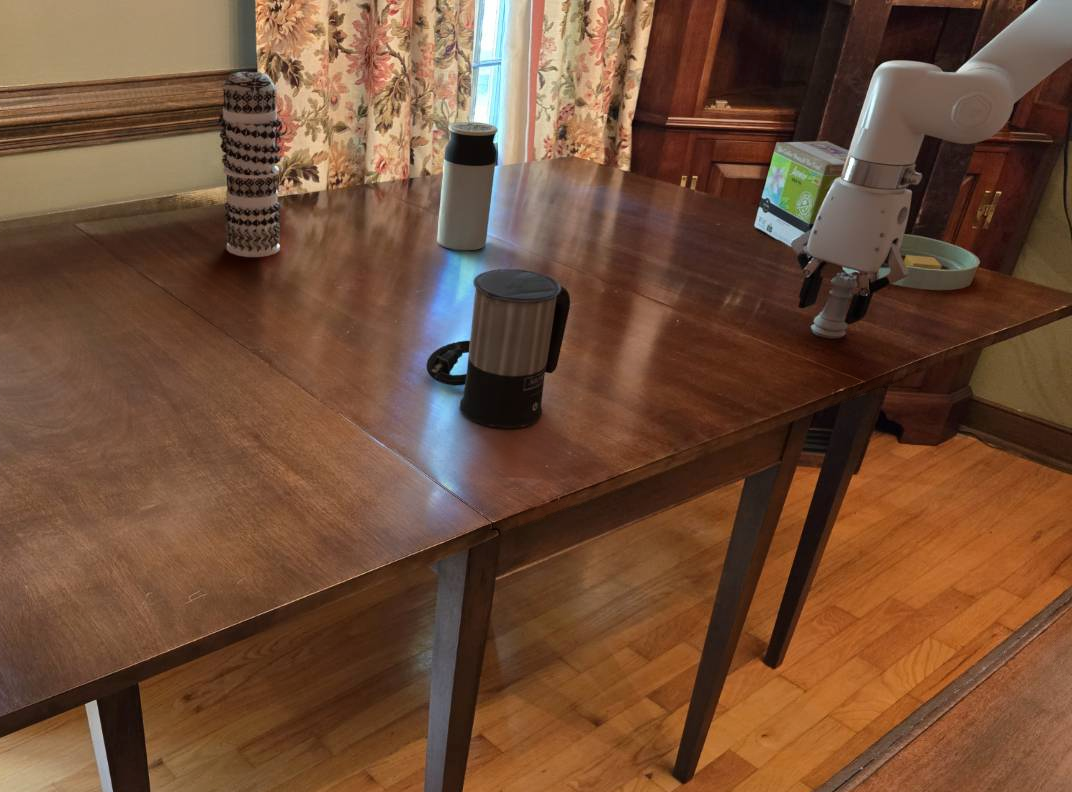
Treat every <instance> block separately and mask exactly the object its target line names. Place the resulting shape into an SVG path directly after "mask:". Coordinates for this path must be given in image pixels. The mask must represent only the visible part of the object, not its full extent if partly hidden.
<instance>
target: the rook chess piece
mask: <svg viewBox="0 0 1072 792" xmlns="http://www.w3.org/2000/svg"><path fill="white" fill-rule="evenodd" d="M846 275H847V276H846ZM830 282H831V285H832V288H831V290H829V293H828V294H829V296H828V299H827V301H826V304H825V306H824V308H823V309H822V310H821V312H819V314H818V315H817V316H815V317H814V319H813V323H814V324H812V325H811V326H810V329H811V331H812V333H813V334H814V335H816V336H818V337H821V338H825V339H833V340H837V339H841V338H843V337H844V336H845V335H846V333H847V332H846V329H847V328H848V324H846V323H845V318H846V315H847V308H848V303H849V300H850V299H851V298H853V295H852V291H853V290H854V289H856V288H857V287H858V282H857V275H854V274H852V273H850V274H847V273H846V272H837V273H836V275H835V277H833V278H832V279H831V280H830Z"/></svg>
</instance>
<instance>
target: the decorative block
mask: <svg viewBox="0 0 1072 792" xmlns="http://www.w3.org/2000/svg"><path fill="white" fill-rule="evenodd" d="M903 261H904V263H905V265H907V266H912V267H919V268H926V269H940V270H942V268H943V266H942V265H941V264H940V263H939V262H938V261H937V260H936V259H935V258H934V257H924V256H913V255H906V256H904V259H903Z"/></svg>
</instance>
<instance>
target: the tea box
mask: <svg viewBox="0 0 1072 792" xmlns="http://www.w3.org/2000/svg"><path fill="white" fill-rule="evenodd" d="M775 143H776V144H775V146H774V151H773V153H772V156H771V157H772V158H771V162H770V166H769V170H768V173H767V176H766V180H765V185H764V188H763V191H762V195H761V199H760V202H759V207H758V209H757V213H756V217H755V221H754V228H756V229H758V230H760V231H762V232H764V233H766V234H767V235H768V236H770V237H771V238H773V239H775V240H776V241H780V242H782V243H784V244H785V245H787V246H788V247H791V248H792V246H791V242H792V241H793V240H794V239H796V238H797V237H799V236H801V235H802V234H804V233H805V232H807V231H809V230H810V229H812V228H813V225H814V222H815V220H816V217H817V215H818V212H819V210H820V208H821V205H822V203H823V201H824V199H825V197H826V195H827V193H828V191H829V189H830V188H831V186H832V184H833V182H834V181H835V179H836V178H839V177H841V174H842V171H843V168H844V165H845V162H846V158H847V155H848V153H849V149H846V148H843V147H841V146H839V145H837V144H835V143H832V142H829V141H828V140H825V141H823V140H822V141H789V142H787V141H785V142H784V141H783V142H780V141H777V142H775Z"/></svg>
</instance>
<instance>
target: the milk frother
mask: <svg viewBox="0 0 1072 792" xmlns="http://www.w3.org/2000/svg"><path fill="white" fill-rule="evenodd" d="M473 286H474V288H475V291H474V300H473V310H472V320H471V329H470V336H469V337H470V339H469V340H462V341H456V342H452V343H448V344H446V345H443V346H441V347H439V348H437V349H436V350H434V351H433V352H432V353H431V354H430V355H429V357H428V359H427V362H426V371H427V374H428V375H429V376H430V377H431V378H432V379H433V380H435V381H437V382H439V383H441V384H444V385H449V386H452V387H453V386H454V387H455V386H457V387H458V386H464V388H463V394H462V397H461V399H460V402H459V409H460V411H461V413H462V414H463V415H464V416H465V417H466V418H468V419H469V420H471V421H473V422H475V423H477V424H479V425H483V426H486V427H491V428H492V427H493V428H496V429H497V428H499V429H518V428H525V427H528V426H531V425H533V424H535V423H537V421H539V420H540V418H541V417H542V416H543V415H542V414H543V408H542V401H543V391H544V384H545V375H546V374H553V373H554V372H555V371H556V369H557V367H558V364H559V359H560V355H561V349H562V346H563V341H564V336H565V332H566V327H567V323H568V317H569V313H570V308H571V297H570V293H569V291H568V290H567V288H566V287H564V286H562V285H561V284H560V283H559V282H558V281H557V280H556V279H555V278H554V277H552V276H548V275H545V274H543V273H541V272H536V271H533V270H526V269H519V268H516V269H514V268H512V269H511V268H504V269H503V268H502V269H501V268H498V269H493V270H487V271H484V272H481V273H479V274H478V275H476V276H475V277H474V278H473ZM467 353H468V357H467V367H466V373H463V374H451V371H452V370H453V369H454V367H455V365H456V364H458V363H459V359H460V358H461V357H462V356H463V354H467Z"/></svg>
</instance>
